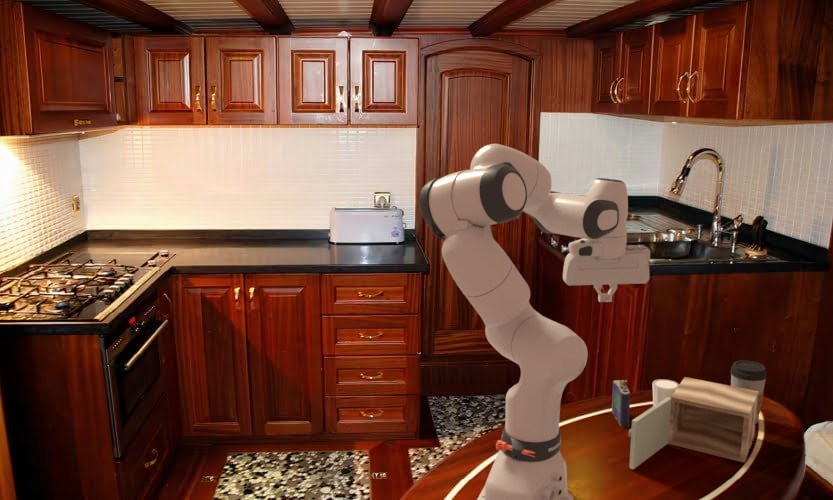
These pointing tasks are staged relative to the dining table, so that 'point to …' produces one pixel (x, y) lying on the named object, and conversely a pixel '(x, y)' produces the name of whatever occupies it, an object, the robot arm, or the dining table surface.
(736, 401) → the oak cabinet
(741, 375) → the coffee cup
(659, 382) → the white cylinder
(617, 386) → the flask
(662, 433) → the side door
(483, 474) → the dining table surface
